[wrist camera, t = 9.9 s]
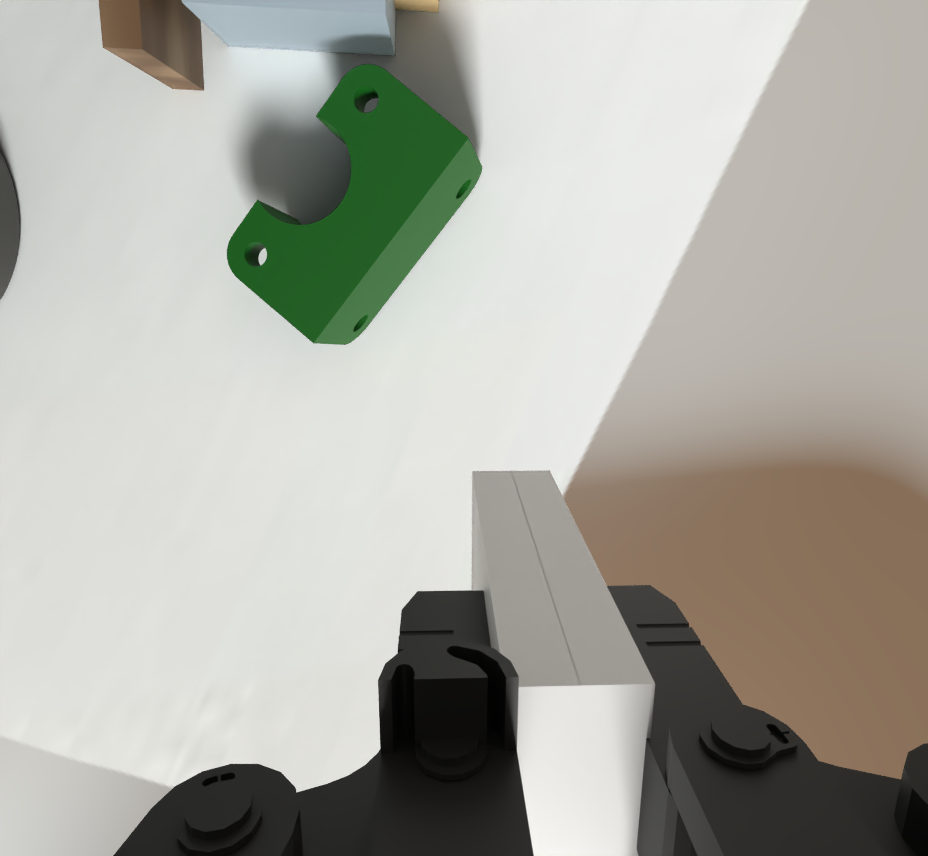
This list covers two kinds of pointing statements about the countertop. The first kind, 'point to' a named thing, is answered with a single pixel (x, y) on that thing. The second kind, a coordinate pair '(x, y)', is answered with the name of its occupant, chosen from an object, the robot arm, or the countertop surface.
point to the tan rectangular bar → (417, 5)
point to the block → (302, 24)
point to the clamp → (360, 212)
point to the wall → (155, 39)
